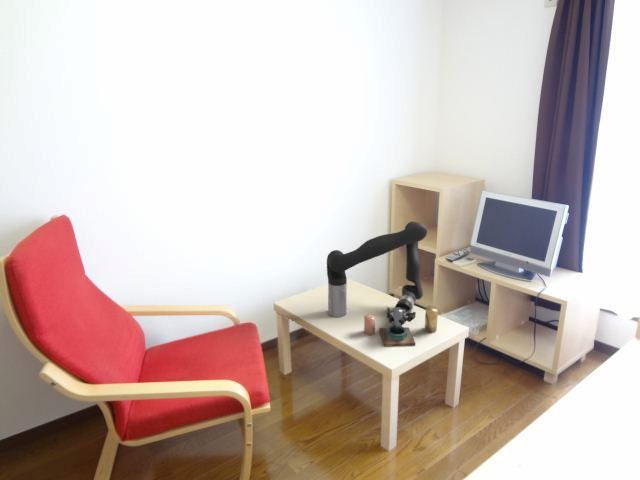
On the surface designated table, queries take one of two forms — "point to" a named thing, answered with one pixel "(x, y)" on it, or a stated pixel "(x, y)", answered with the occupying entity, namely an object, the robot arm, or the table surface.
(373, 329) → the terracotta peg
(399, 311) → the steel peg
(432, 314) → the brass peg
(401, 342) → the ring board
